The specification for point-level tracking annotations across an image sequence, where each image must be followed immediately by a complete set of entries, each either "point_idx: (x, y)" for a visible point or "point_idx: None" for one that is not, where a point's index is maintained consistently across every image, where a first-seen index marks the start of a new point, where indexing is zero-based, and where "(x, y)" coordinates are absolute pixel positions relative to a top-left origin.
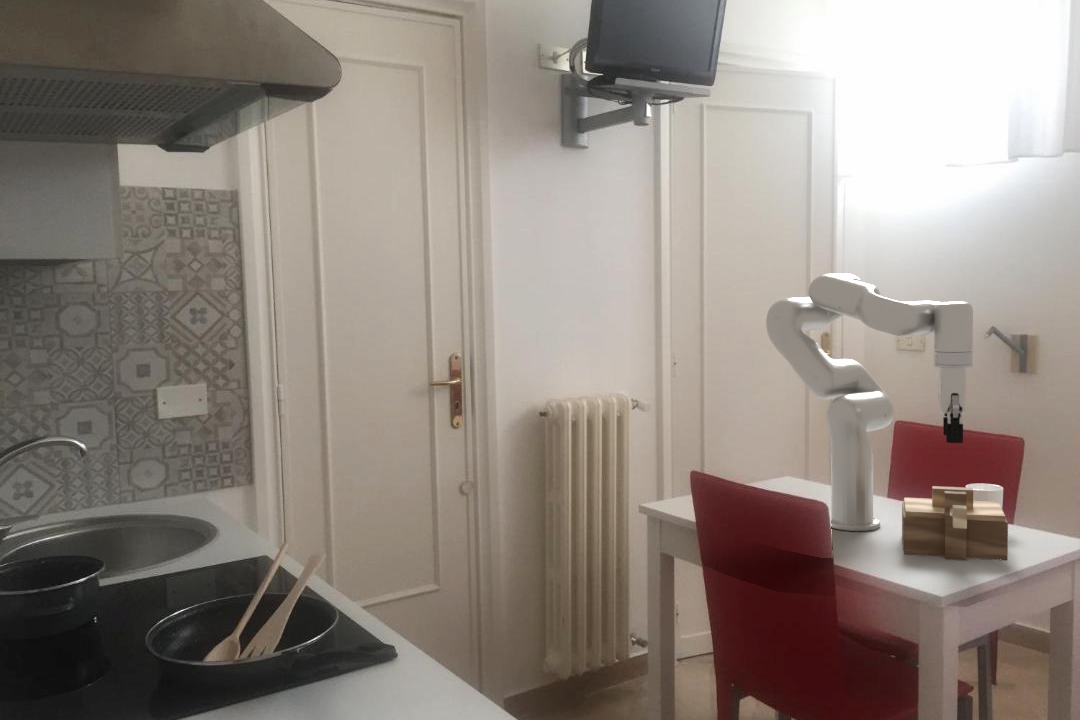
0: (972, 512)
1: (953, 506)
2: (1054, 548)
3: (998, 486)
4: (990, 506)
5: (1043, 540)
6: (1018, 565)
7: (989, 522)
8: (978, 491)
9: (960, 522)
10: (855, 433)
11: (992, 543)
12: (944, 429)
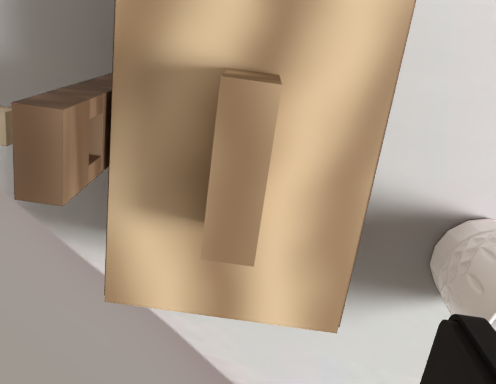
0: (144, 206)
1: None
2: (273, 371)
3: None
4: (253, 291)
5: (350, 369)
6: (99, 252)
7: (106, 241)
8: (493, 308)
9: None
10: None
11: None
12: (464, 358)
